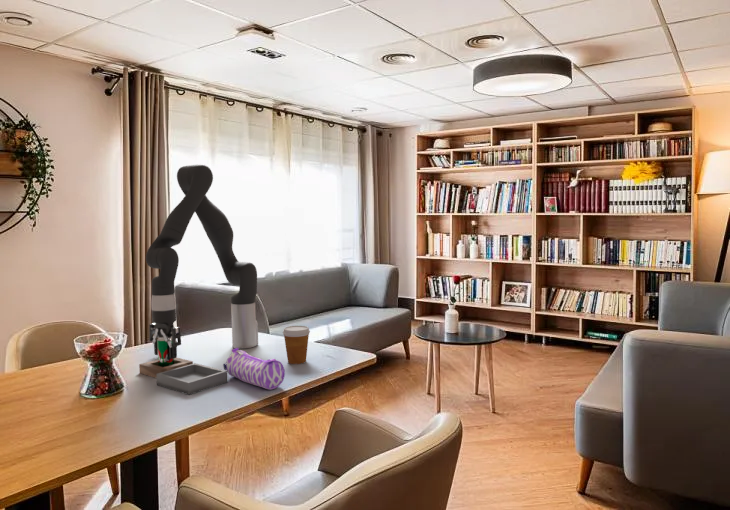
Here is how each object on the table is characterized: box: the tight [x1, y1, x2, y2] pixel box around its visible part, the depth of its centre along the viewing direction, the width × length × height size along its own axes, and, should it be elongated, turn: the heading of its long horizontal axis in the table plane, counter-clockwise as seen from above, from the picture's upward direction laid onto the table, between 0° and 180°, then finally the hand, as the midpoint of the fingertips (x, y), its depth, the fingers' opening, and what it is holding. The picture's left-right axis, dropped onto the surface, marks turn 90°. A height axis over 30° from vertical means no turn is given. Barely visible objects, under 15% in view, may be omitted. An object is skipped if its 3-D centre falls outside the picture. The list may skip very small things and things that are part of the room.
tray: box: [156, 362, 229, 396], centre depth 165 cm, size 14×16×4 cm
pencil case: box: [222, 348, 286, 390], centre depth 165 cm, size 22×9×10 cm, turn 46°
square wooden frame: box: [138, 356, 194, 379], centre depth 178 cm, size 12×12×3 cm
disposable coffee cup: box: [282, 325, 311, 365], centre depth 187 cm, size 10×10×12 cm
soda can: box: [157, 336, 174, 367], centre depth 177 cm, size 5×5×12 cm
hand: (165, 356), depth 177 cm, fingers open, 8 cm apart
